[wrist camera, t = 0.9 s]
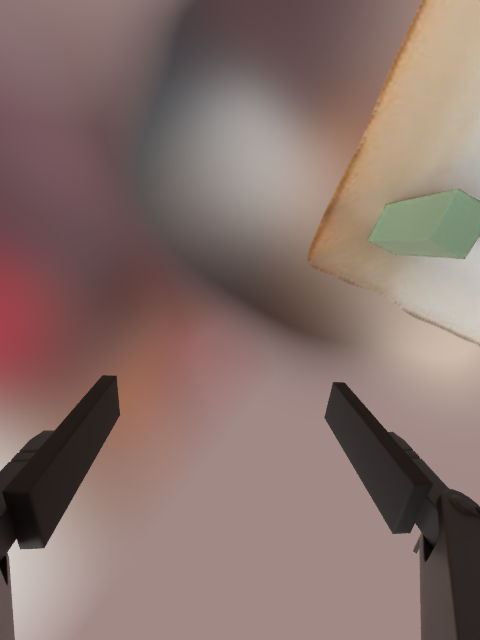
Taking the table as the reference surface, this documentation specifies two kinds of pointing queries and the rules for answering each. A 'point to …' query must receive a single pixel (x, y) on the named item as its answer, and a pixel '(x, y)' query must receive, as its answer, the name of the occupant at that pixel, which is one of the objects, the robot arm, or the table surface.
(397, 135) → the table surface
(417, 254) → the block
